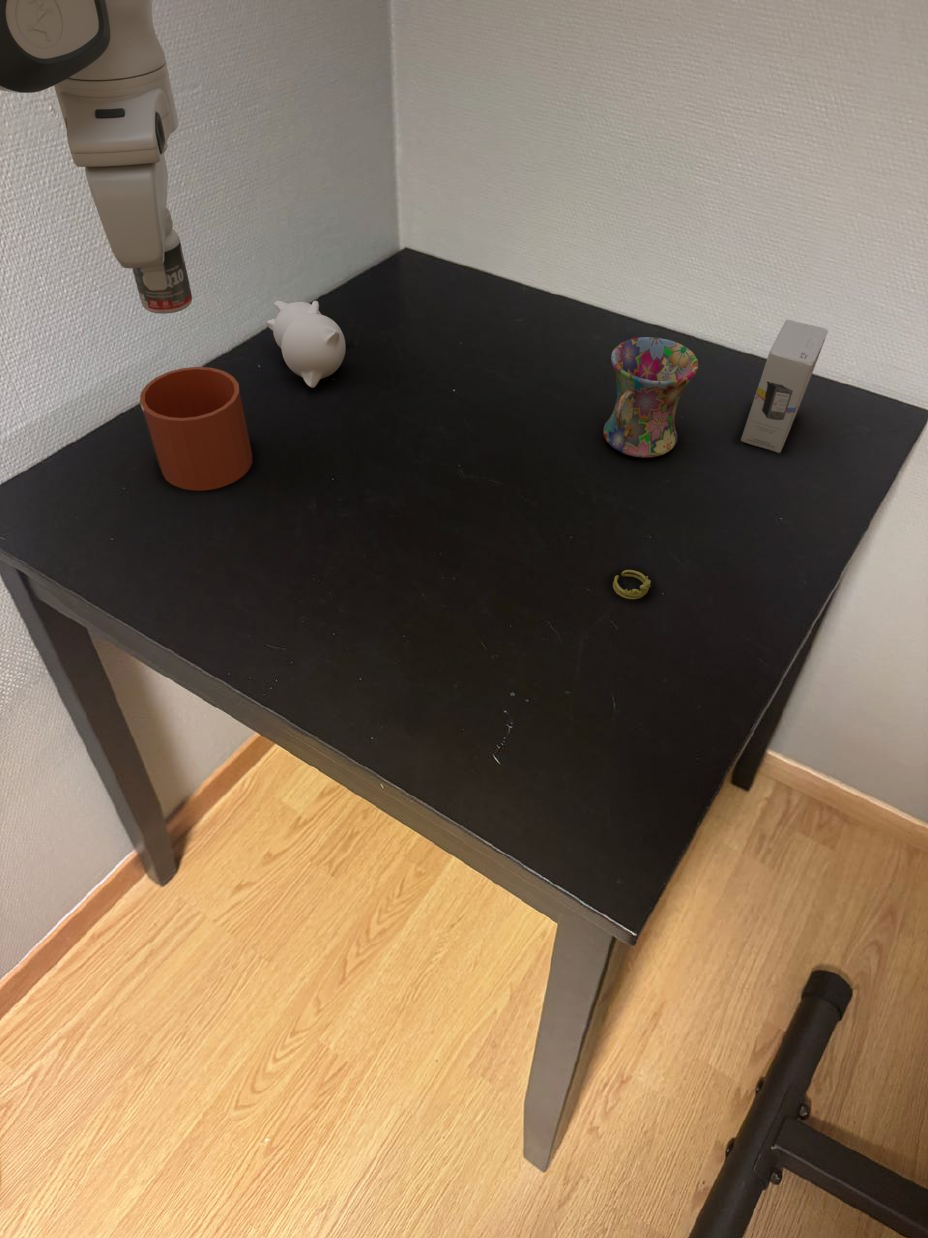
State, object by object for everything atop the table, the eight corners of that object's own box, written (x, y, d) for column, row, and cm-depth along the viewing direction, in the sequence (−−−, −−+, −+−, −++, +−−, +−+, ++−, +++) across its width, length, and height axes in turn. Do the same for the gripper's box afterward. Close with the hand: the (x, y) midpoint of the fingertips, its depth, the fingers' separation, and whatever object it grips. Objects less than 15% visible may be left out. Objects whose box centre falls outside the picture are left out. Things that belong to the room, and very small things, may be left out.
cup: (160, 496, 92) (138, 425, 85) (162, 441, 99) (141, 371, 92) (255, 485, 94) (240, 414, 87) (250, 432, 100) (237, 362, 94)
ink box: (756, 406, 106) (784, 315, 97) (797, 417, 104) (830, 326, 96) (738, 443, 100) (766, 351, 92) (781, 456, 99) (814, 363, 90)
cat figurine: (276, 276, 106) (312, 316, 99) (348, 305, 113) (386, 344, 106) (250, 341, 110) (282, 384, 103) (321, 364, 117) (356, 407, 110)
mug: (622, 408, 105) (637, 327, 97) (692, 436, 101) (713, 354, 93) (571, 456, 98) (582, 373, 90) (644, 487, 94) (662, 404, 87)
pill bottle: (149, 319, 80) (124, 228, 74) (137, 297, 83) (112, 207, 77) (199, 308, 82) (179, 218, 76) (185, 287, 85) (165, 198, 78)
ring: (627, 609, 83) (639, 594, 81) (605, 584, 84) (616, 568, 81) (650, 593, 85) (663, 577, 82) (628, 569, 86) (640, 552, 83)
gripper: (87, 68, 76) (129, 227, 86) (65, 151, 63) (117, 328, 73) (161, 65, 77) (193, 222, 87) (155, 147, 64) (194, 321, 74)
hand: (159, 271), depth 80 cm, fingers closed on pill bottle, 5 cm apart
